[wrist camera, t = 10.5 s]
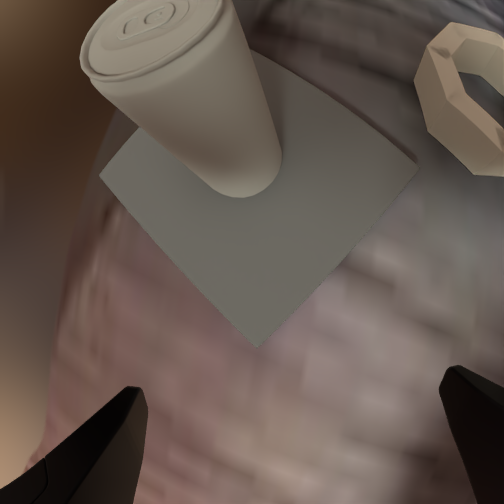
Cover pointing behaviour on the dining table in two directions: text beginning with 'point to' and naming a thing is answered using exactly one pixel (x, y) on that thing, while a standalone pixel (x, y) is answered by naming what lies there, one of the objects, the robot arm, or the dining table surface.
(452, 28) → the holder ring
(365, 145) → the rubber mat
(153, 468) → the dining table surface
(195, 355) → the dining table surface
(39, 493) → the robot arm
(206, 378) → the dining table surface
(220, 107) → the beverage can
